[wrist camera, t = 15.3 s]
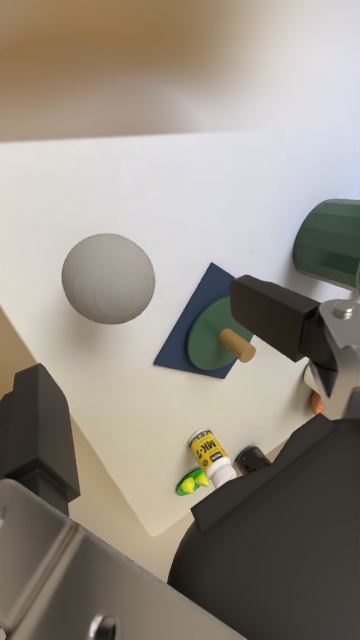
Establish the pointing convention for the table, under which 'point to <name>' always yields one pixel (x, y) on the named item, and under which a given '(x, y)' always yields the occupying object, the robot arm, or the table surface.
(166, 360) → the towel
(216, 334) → the lid
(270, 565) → the robot arm
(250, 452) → the beverage can
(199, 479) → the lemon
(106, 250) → the light bulb
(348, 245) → the tin
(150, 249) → the table surface
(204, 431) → the supplement bottle
